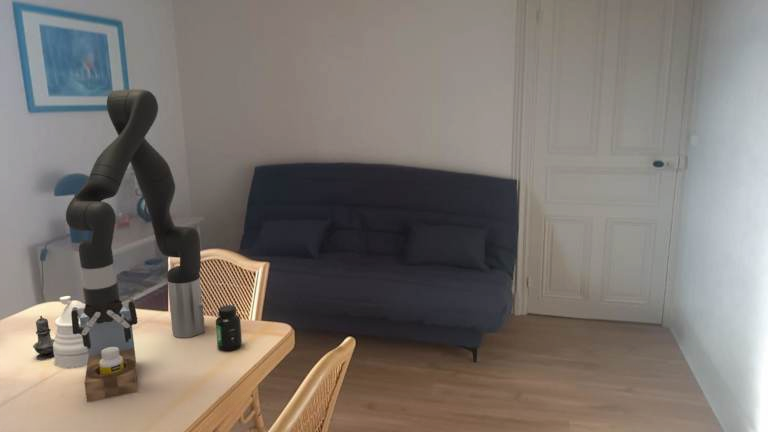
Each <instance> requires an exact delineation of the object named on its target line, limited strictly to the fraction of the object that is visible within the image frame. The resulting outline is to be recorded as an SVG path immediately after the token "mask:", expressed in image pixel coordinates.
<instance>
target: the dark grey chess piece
mask: <svg viewBox="0 0 768 432" xmlns="http://www.w3.org/2000/svg"><path fill="white" fill-rule="evenodd" d="M49 326H50V325H49V321H48V319H47V318H44V317H43V316H42V315H40V316H39V318H38V319H37V320H36V322H35V327H36V331H35V334H36V335H37V342H35V343H34V344H32V345H33V346H32V347H33V349H34V350H35V352H36V353H37V355H36V357H35V359H36V360H39V361H44V360H46V361H47V360H49V359H52V358H54V350H53V343H54V341H55V338H54V339H52V337H51V329H50V328H49Z"/></svg>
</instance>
